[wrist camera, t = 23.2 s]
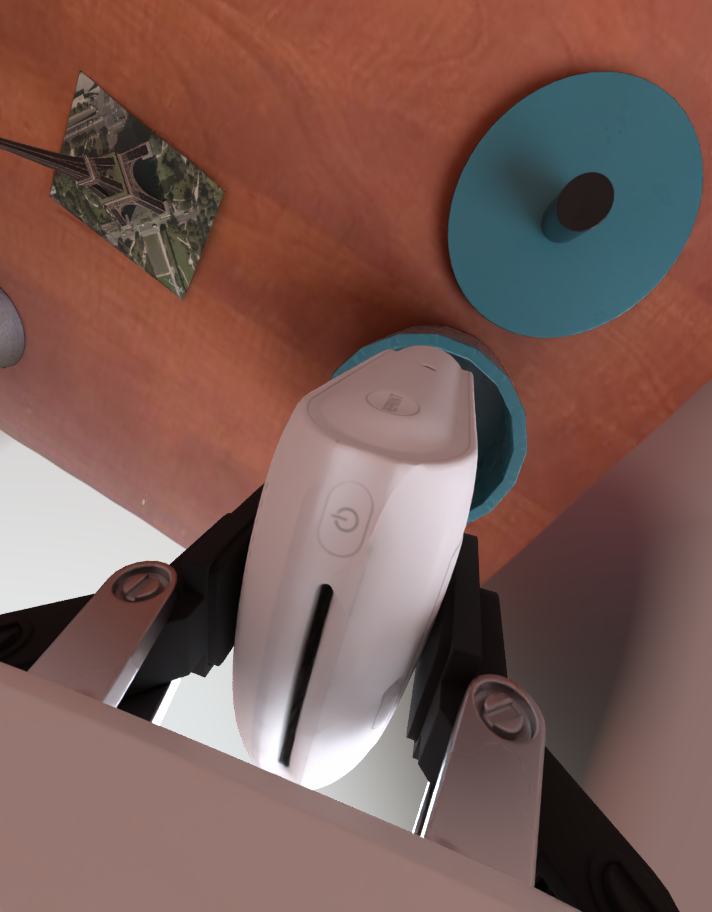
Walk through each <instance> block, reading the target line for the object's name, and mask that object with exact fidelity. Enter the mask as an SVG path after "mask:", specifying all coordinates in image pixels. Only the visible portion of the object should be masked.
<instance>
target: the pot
mask: <svg viewBox="0 0 712 912" xmlns="http://www.w3.org/2000/svg"><path fill="white" fill-rule="evenodd" d="M416 345H425V346H432V347H435V348H438V349H441V350H443V351H445V352H446V353H448V354H449V355H451V356H452V357H453V358H454V359H455V360H456V361H457V363H458V364H459V365H460V367H461V369H462V370H465V371H469V372H471V373H472V374H473V386H474V404H475V415H476V431H477V445H478V458H477V468H476V477H475V485H474V491H473V496H472V501H471V505H470V510H469V515H468V519H467V523H466V525H467V524H468V523H470V522H472V521H474V520H476V519H478V518H480V517H481V516H483V515H485V514H487V513H489V512H490V511H492V510H493V508H494V507H495V506H496V505H497V504H498V503H499V502H500V501H501V499H502V498H503V497H504V496H505V495H506V494H507V493H508V492H509V490H510V489H511V488H512V487H513V486H514V485H515V483H516V480H517V477H518V475H519V472H520V469H521V466H522V464H523V461H524V458H525V455H526V453H527V434H526V414H525V410H524V408H523V406H522V404H521V402H520V400H519V398H518V396H517V393H516V391H515V389H514V387H513V385H512V383H511V381H510V379H509V377H508V375H507V373H506V371H505V369H504V367H503V366H502V364H501V362H500V360H499V359H498V357H497V356H495V355H494V354H493V353H492V352H491V351H490V350H489V349H488V348H487V347H486V346H485V345H484V344H482V343H481V342H480V341H479V340H478V339H477V338H475V337H474V336H471V335H469V334H467V333H464V332H462V331H459V330H457V329H453V328H450V327H448V326H436V325H423V326H411V327H409V328H406V329H403V330H400V331H398V332H395V333H393V334H390V335H387V336H385V337H383V338H381V339H378V340H376V341H374V342H372V343H370V344H368V345H366V346H363V347H362V348H360V349H359V350H358V351H357V352H356V353H355V354H353V355H352V356H351V357H350V358H349V359H348V360H347V361H346V362H344V363H343V364H342V365H341V366H340V367H339V368H338V369H337V370H335V372H334V373H333V375H332V377H331V379H330V380H332V379H334V378H335V377H337V376H339V375H341V374H342V373H344V372H346V371H348V370H350V369H352V368H353V367H355V366H357V365H359V364H360V363H363V362H364V361H366V360H368V359H369V358H371V357H373V356H375V355H377V354H378V353H380V352H382V351H384V350H388V349H392V350H394V351H400V350H402V349H404V348H407V347H411V346H416Z"/></svg>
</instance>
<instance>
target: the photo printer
mask: <svg viewBox="0 0 712 912" xmlns="http://www.w3.org/2000/svg"><path fill="white" fill-rule="evenodd" d="M477 458H478V445H477V431H476V415H475V404H474V386H473V374H472V373H471V372H469V371H465V370H462V369H461V367H460V365H459V364H458V363H457V361H456V360H455V359H454V358H453V357H452V356H451V355H449V354H448V353H446V352H445V351H443V350H441V349H438V348H435V347H432V346H425V345H416V346H411V347H407V348H404V349H402V350H400V351H394V350H392V349H388V350H384V351H382V352H380V353H378V354H377V355H375V356H373V357H371V358H369V359H368V360H366V361H364V362H363V363H360V364H359V365H357V366H355V367H353V368H352V369H350V370H348V371H346V372H344V373H342V374H341V375H339V376H337V377H335V378H334V379H332V380H330V381H329V382H327V383H326V384H324V385H322V386H320V387H319V388H317V389H315V390H313V391H311V392H309V393H308V394H306V395H305V396H304V397H303V398H302V399H301V400H300V401H299V402H298V403H297V405H296V407H295V409H294V411H293V413H292V415H291V417H290V419H289V421H288V423H287V425H286V427H285V429H284V431H283V433H282V435H281V437H280V440H279V443H278V445H277V448H276V450H275V453H274V456H273V459H272V462H271V465H270V468H269V471H268V475H267V478H266V481H265V484H264V487H263V491H262V495H261V498H260V502H259V506H258V510H257V514H256V518H255V522H254V527H253V531H252V535H251V539H250V544H249V549H248V554H247V559H246V565H245V570H244V575H243V582H242V588H241V594H240V600H239V607H238V614H237V624H236V632H235V642H234V654H233V701H234V709H235V715H236V721H237V725H238V728H239V732H240V735H241V738H242V741H243V743H244V746H245V747H246V749H247V751H248V753H249V755H250V757H251V759H252V760H253V762H254V763H255V765H256V766H257V767H259V768H261V769H263V770H266V771H268V772H271V773H273V774H277V775H280V776H282V777H284V778H285V779H287V780H290V781H292V782H294V783H297V784H299V785H301V786H304V787H306V788H309V789H311V790H315V789H318V788H321V787H324V786H326V785H329V784H331V783H333V782H334V781H336V780H338V779H339V778H341V777H342V776H344V775H345V774H346V773H348V772H349V771H350V770H352V769H353V768H354V767H355V766H356V765H357V764H358V763H359V762H360V761H361V760H362V759H363V758H364V756H365V755H366V754H367V753H368V751H369V750H370V749H371V748H372V747H373V746H374V745H375V744H376V743H377V741H378V739H379V738H380V736H381V735H382V733H383V731H384V730H385V728H386V726H387V724H388V722H389V721H390V719H391V717H392V715H393V714H394V712H395V709H396V707H397V705H398V704H399V702H400V699H401V697H402V695H403V693H404V691H405V689H406V687H407V685H408V682H409V680H410V678H411V676H412V673H413V671H414V669H415V667H416V665H417V663H418V661H419V658H420V656H421V654H422V651H423V649H424V646H425V644H426V641H427V639H428V636H429V634H430V632H431V629H432V627H433V624H434V622H435V619H436V617H437V614H438V611H439V609H440V606H441V603H442V601H443V598H444V596H445V593H446V590H447V587H448V584H449V581H450V578H451V575H452V573H453V570H454V567H455V564H456V561H457V558H458V555H459V551H460V548H461V544H462V540H463V532H464V529H465V526H466V523H467V519H468V515H469V510H470V505H471V501H472V496H473V491H474V485H475V477H476V468H477Z"/></svg>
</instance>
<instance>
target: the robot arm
mask: <svg viewBox="0 0 712 912" xmlns="http://www.w3.org/2000/svg"><path fill="white" fill-rule="evenodd" d="M264 484H265V483H264ZM264 484H263V485H262V486H261V487H260V488H258V489H257V490H256V491H255V492H254V493H253V494H252V495H251V496H250V497H249V498H247V499H246V500H245V501H244V502H243V503H242V504H241V505H240V506H239V507H238V508H237V509H235V510H234V511H233V512H232V513H228V514H226V515H225V516H223V517H222V518H221V519H220V520H219V521H218V522H217V523H215V524H214V525H213V526H212V527H211V528H210V529H209V530H208V531H206V532H205V533H204V534H203V535H202V536H201V537H200V538H199V539H198V540H196V541H195V542H194V543H193V544H192V545H191V546H190V547H189V548H188V549H186V550H185V551H184V552H183V553H182V554H181V555H180V556H179V557H178V558H176V559H175V560H174V561H173V562H172V563H171V564H170V565H168V564H166V563H162V562H159V561H143V562H137V563H134V564H131V565H128V566H125V567H123V568H122V569H120V570H118V571H116V572H115V573H114V574H113V575H112V576H111V577H109V578H108V580H107V581H106V582H105V583H104V584H103V585H102V586H101V588H100V589H99V590H98V591H97V592H96V593H95V594H91V595H87V596H82V597H78V598H73V599H68V600H64V601H59V602H55V603H50V604H46V605H41V606H37V607H32V608H28V609H24V610H19V611H14V612H10V613H5V614H1V615H0V912H679V910H678V908H677V907H676V905H675V903H674V901H673V899H672V897H671V895H670V894H669V892H668V890H667V889H666V887H665V886H664V885H663V884H662V882H661V881H660V880H659V878H658V877H657V875H656V874H655V873H654V871H653V870H652V869H651V868H650V867H649V866H648V864H647V863H646V862H645V861H644V860H643V859H642V858H641V856H640V855H639V854H638V853H637V852H636V851H635V850H634V848H633V847H632V846H631V845H630V844H629V842H627V840H626V839H625V838H624V837H623V836H622V834H620V832H619V831H618V830H617V829H616V828H615V826H614V825H613V824H612V823H611V822H610V821H609V819H608V818H607V817H606V816H605V815H604V814H603V812H602V811H601V810H600V809H599V808H598V807H597V806H596V804H594V802H593V801H592V800H591V799H590V797H589V796H588V795H587V794H586V793H585V792H584V791H583V790H582V788H581V787H580V786H579V785H578V784H577V782H576V781H575V780H574V779H573V778H572V777H571V775H570V774H569V773H568V772H567V771H566V770H565V769H564V767H563V766H562V765H561V764H560V763H559V762H558V760H557V759H556V758H555V757H554V756H553V755H552V754H551V752H550V751H549V750H548V749H547V748H546V747H545V736H546V730H545V721H544V718H543V716H542V713H541V711H540V708H539V707H538V706H537V704H536V703H535V701H534V700H533V698H532V697H531V696H530V695H529V694H528V693H527V692H526V691H525V690H524V689H523V688H522V687H521V686H519V685H518V684H516V683H515V682H513V681H512V680H510V679H508V678H507V669H506V659H505V650H504V641H503V632H502V621H501V611H500V603H499V596H498V594H497V593H496V592H493V591H489V590H486V589H482V588H480V583H479V559H478V538H477V536H473V535H469V534H466V533H463V540H462V544H461V548H460V551H459V555H458V558H457V561H456V564H455V567H454V570H453V573H452V575H451V578H450V581H449V584H448V587H447V590H446V593H445V596H444V598H443V601H442V603H441V606H440V609H439V611H438V614H437V617H436V619H435V622H434V624H433V627H432V629H431V632H430V634H429V636H428V639H427V641H426V644H425V646H424V649H423V651H422V654H421V656H420V658H419V661H418V663H417V665H416V671H415V677H414V684H413V691H412V699H411V705H410V713H409V720H408V727H407V738H410V739H412V740H414V750H413V758H415V759H417V760H418V764H419V766H420V768H421V770H422V771H423V772H424V775H425V776H426V778H427V780H428V781H429V782H428V785H427V788H426V791H425V794H424V797H423V801H422V803H421V807H420V810H419V813H418V816H417V819H416V822H415V825H414V829H413V832H409V831H407V830H405V829H402V828H400V827H397V826H395V825H393V824H390V823H388V822H386V821H383V820H381V819H379V818H376V817H374V816H372V815H369V814H367V813H365V812H362V811H360V810H358V809H355V808H353V807H351V806H348V805H346V804H344V803H341V802H339V801H337V800H334V799H332V798H329V797H327V796H325V795H323V794H320V793H318V792H316V791H313V790H311V789H309V788H306V787H304V786H301V785H299V784H297V783H294V782H292V781H290V780H287V779H285V778H282V777H280V776H278V775H275V774H273V773H271V772H268V771H266V770H263V769H261V768H259V767H256V766H254V765H252V764H249V763H247V762H244V761H242V760H240V759H237V758H235V757H233V756H230V755H228V754H225V753H223V752H221V751H218V750H216V749H214V748H211V747H209V746H206V745H204V744H202V743H199V742H197V741H194V740H192V739H189V738H187V737H185V736H183V735H180V734H177V733H175V732H173V731H171V730H168V729H166V728H163V727H161V726H159V725H160V723H161V721H162V719H163V716H164V714H165V712H166V710H167V708H168V706H169V704H170V701H171V699H172V697H173V695H174V693H175V691H176V689H177V686H178V684H179V681H180V678H181V677H184V676H187V675H189V674H190V673H191V672H192V673H195V674H197V675H200V676H202V677H206V675H207V674H208V673H209V671H210V670H211V668H212V667H213V665H216V666H220V665H221V663H223V661H224V660H225V658H226V657H227V655H228V654H229V652H230V651H231V649H232V648H233V646H234V642H235V632H236V624H237V614H238V607H239V600H240V594H241V588H242V582H243V575H244V570H245V565H246V559H247V554H248V549H249V544H250V539H251V535H252V531H253V527H254V522H255V518H256V514H257V510H258V506H259V502H260V498H261V495H262V491H263V487H264Z"/></svg>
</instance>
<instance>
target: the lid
mask: <svg viewBox="0 0 712 912" xmlns="http://www.w3.org/2000/svg"><path fill="white" fill-rule="evenodd" d="M702 185H703V161H702V156H701V150H700V144H699V141H698V138H697V135H696V133H695V130H694V127H693V125H692V123H691V122H690V120H689V118H688V116H687V114H686V113H685V111H684V110H683V109H682V108H681V106H680V105H679V104H678V103H677V102H676V100H675V99H674V98H673V97H671V96H670V95H669V94H668V93H667V92H665V91H664V90H663V89H662V88H660V87H659V86H657V85H655V84H653V83H651V82H649V81H648V80H646V79H643V78H640V77H637V76H634V75H631V74H625V73H618V72H590V73H584V74H578V75H573V76H570V77H567V78H564V79H560V80H557V81H555V82H553V83H551V84H548V85H546V86H544V87H542V88H540V89H538V90H536V91H535V92H533V93H532V94H530V95H528V96H527V97H525V98H523V99H522V100H521V101H519V102H518V103H517V104H516V105H514V106H513V107H512V108H510V109H509V110H508V111H507V112H506V113H505V114H504V115H503V116H502V117H501V118H500V119H499V120H498V121H497V122H496V123H495V124H493V126H492V127H491V128H490V129H489V130H488V132H487V133H486V134H485V135H484V137H483V138H482V139H481V140H480V142H479V143H478V145H477V146H476V148H475V149H474V151H473V152H472V154H471V155H470V157H469V159H468V161H467V163H466V165H465V167H464V169H463V171H462V173H461V175H460V178H459V181H458V183H457V186H456V188H455V192H454V195H453V199H452V203H451V207H450V214H449V220H448V249H449V256H450V261H451V266H452V269H453V272H454V275H455V278H456V280H457V282H458V284H459V286H460V288H461V290H462V292H463V294H464V295H465V297H466V298H467V299H468V301H469V302H470V304H471V305H472V306H473V307H474V308H475V309H476V310H477V311H478V312H479V313H480V314H481V315H482V316H484V317H485V318H486V319H488V320H489V321H490V322H492V323H494V324H495V325H497V326H499V327H501V328H503V329H505V330H508V331H510V332H513V333H516V334H520V335H524V336H530V337H539V338H551V337H562V336H569V335H574V334H578V333H581V332H585V331H588V330H591V329H593V328H596V327H598V326H601V325H603V324H605V323H607V322H609V321H611V320H613V319H615V318H617V317H618V316H620V315H621V314H623V313H624V312H626V311H627V310H629V309H630V308H632V307H633V306H634V305H635V304H637V303H638V302H639V301H640V300H642V299H643V298H644V297H645V296H646V295H647V294H648V293H649V292H650V291H651V290H652V289H653V288H654V287H655V286H656V285H657V284H658V283H659V282H660V281H661V280H662V278H663V277H664V276H665V275H666V273H667V272H668V271H669V270H670V268H671V267H672V265H673V264H674V262H675V261H676V259H677V258H678V256H679V255H680V253H681V251H682V249H683V247H684V245H685V244H686V242H687V240H688V238H689V236H690V233H691V230H692V228H693V225H694V222H695V220H696V217H697V213H698V209H699V205H700V201H701V194H702Z"/></svg>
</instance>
